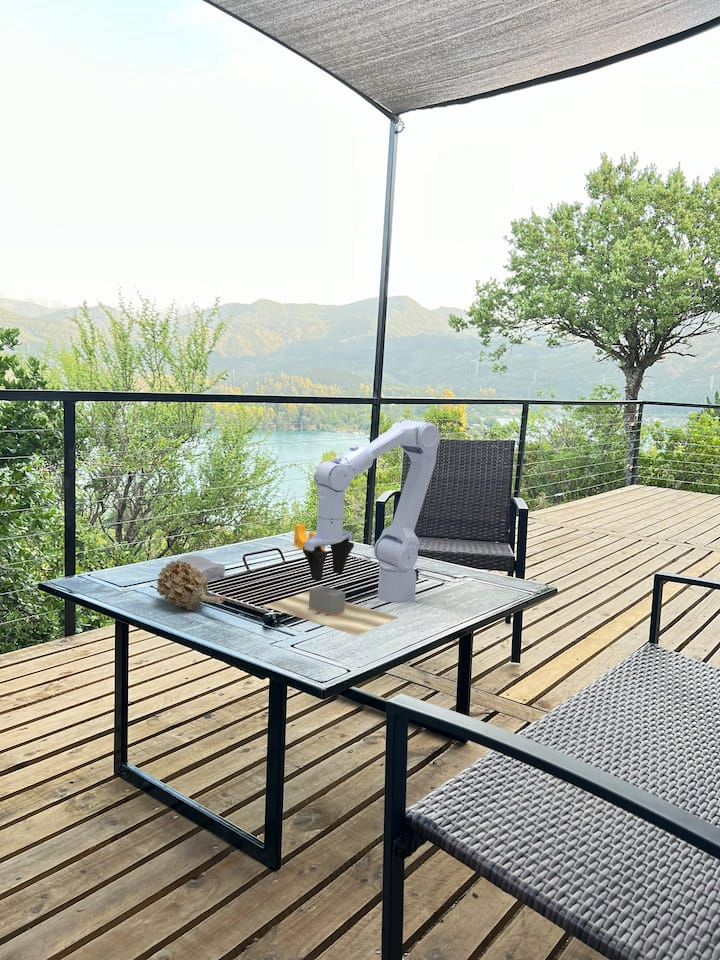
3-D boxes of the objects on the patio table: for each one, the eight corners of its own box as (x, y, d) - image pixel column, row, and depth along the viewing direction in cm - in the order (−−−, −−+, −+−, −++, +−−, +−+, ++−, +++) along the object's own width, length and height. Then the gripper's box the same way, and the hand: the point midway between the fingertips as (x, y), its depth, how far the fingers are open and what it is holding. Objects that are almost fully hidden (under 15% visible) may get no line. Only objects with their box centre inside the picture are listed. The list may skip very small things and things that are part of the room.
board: (308, 597, 189) (308, 590, 189) (398, 623, 174) (398, 616, 174) (262, 612, 176) (262, 605, 176) (355, 642, 161) (356, 635, 161)
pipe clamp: (324, 554, 231) (325, 532, 230) (311, 555, 229) (312, 533, 228) (306, 544, 241) (307, 524, 240) (293, 545, 239) (294, 524, 238)
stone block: (202, 573, 211) (170, 571, 203) (205, 555, 210) (174, 553, 203) (228, 585, 203) (197, 584, 195) (232, 567, 202) (201, 565, 195)
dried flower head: (143, 603, 177) (143, 561, 175) (175, 594, 185) (176, 553, 183) (213, 627, 165) (215, 581, 163) (245, 616, 173) (246, 572, 171)
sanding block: (320, 604, 179) (321, 585, 178) (344, 611, 175) (345, 592, 174) (308, 608, 176) (309, 589, 175) (333, 615, 172) (334, 596, 171)
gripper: (336, 509, 180) (333, 566, 183) (294, 518, 169) (292, 579, 171) (361, 514, 176) (357, 573, 179) (320, 523, 165) (317, 586, 167)
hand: (327, 576), depth 175 cm, fingers open, 7 cm apart
